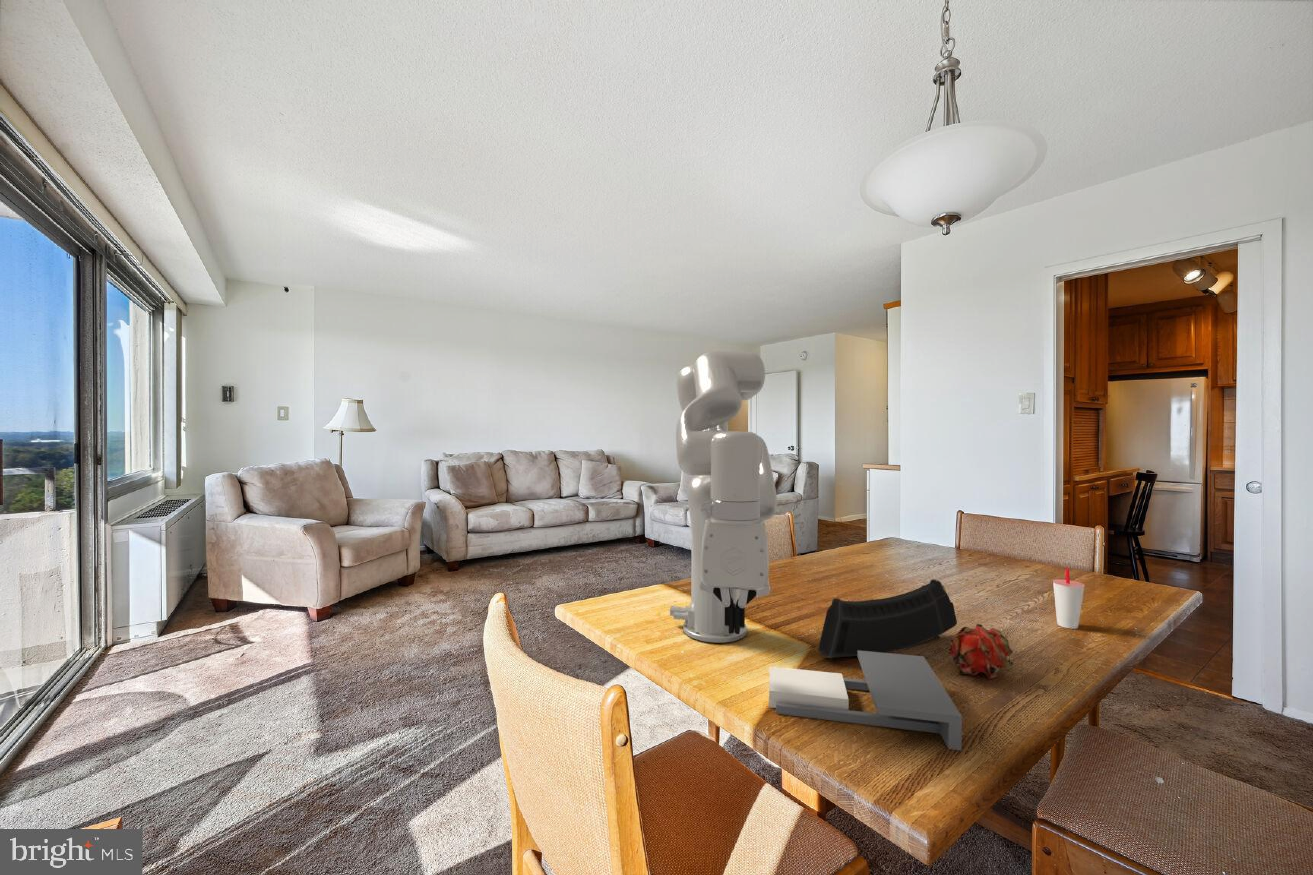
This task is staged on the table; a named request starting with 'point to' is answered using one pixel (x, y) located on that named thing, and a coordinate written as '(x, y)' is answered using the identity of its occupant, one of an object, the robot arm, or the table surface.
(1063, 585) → the cup
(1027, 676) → the table surface
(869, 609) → the magazine
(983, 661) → the dragon fruit
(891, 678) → the dock
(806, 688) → the white rounded slab
